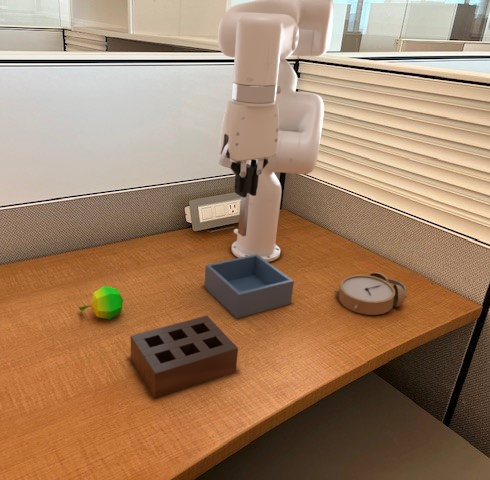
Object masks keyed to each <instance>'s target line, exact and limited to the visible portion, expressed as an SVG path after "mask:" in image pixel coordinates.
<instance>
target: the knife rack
mask: <svg viewBox="0 0 490 480" xmlns="http://www.w3.org/2000/svg"><path fill="white" fill-rule="evenodd" d="M238 351H239V347H238V346H237V345H236V344H235V343H234V342H233V341H232V340H231V338H229V337H228V336H227V334H226V333H224V331H223V330H222V329H221V328H220V327H219V326H218V325H217V324H216V323H215V322H214V321H213V320H212V319H211V317H209V315H203V316H199V317H196V318H192V319H188V320H185V321H180V322H177V323H174V324H169V325H165V326H160V327H158V328H155V329H151V330H145V331H142V332H139V333H135V334H132V335H130V360H131V362H132V363H133V365H134V367H135V369H136V370H137V371H138V373H139V375H140V376H141V378H142V380H143V381H144V383H145V384H146V386H147V388H148V390H149V391H150V393H151V394H152V396H153V397H154V399H158V398H161V397H164V396H167V395H170V394H173V393H176V392H179V391H182V390H185V389H188V388H191V387H194V386H197V385H200V384H203V383H206V382H210V381H211V380H215V379H218V378H221V377H224V376H227V375H231V374H234V373H236V372H237V365H238V364H237V363H238V353H239V352H238Z"/></svg>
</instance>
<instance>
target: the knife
mask: <svg viewBox="0 0 490 480" xmlns="http://www.w3.org/2000/svg"><path fill="white" fill-rule="evenodd" d="M253 175H254V167H253V166H251V165H249V164H247V165H246V177H248V188H247V196H246V197H244V198H243V197H241V196H240V201H239V202H240V203H239V216H238V227H237V229H238V233H239V234H240V235H242V236H246V230H247V219H248V208H249V197H250V193H252V185H253Z"/></svg>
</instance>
